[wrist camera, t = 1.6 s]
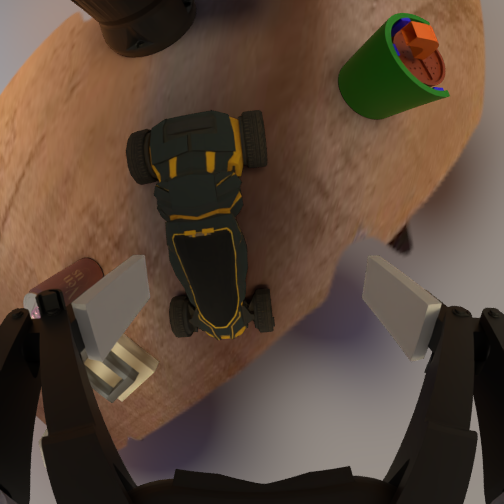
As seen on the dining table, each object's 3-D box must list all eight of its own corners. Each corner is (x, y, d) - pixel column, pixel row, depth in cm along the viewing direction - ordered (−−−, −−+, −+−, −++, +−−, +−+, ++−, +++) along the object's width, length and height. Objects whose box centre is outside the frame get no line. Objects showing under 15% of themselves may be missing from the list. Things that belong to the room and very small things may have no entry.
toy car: (259, 112, 34) (261, 91, 24) (280, 322, 42) (286, 361, 33) (144, 131, 34) (112, 120, 25) (179, 330, 43) (163, 367, 33)
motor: (401, 115, 33) (492, 89, 13) (352, 124, 34) (434, 89, 14) (377, 57, 30) (448, 1, 11) (327, 63, 31) (382, -11, 12)
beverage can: (72, 269, 40) (17, 304, 25) (90, 249, 39) (31, 283, 24) (92, 296, 41) (42, 340, 27) (111, 278, 40) (59, 322, 26)
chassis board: (48, 323, 43) (33, 337, 37) (68, 280, 40) (49, 293, 35) (126, 392, 47) (117, 411, 41) (159, 361, 44) (149, 382, 39)
